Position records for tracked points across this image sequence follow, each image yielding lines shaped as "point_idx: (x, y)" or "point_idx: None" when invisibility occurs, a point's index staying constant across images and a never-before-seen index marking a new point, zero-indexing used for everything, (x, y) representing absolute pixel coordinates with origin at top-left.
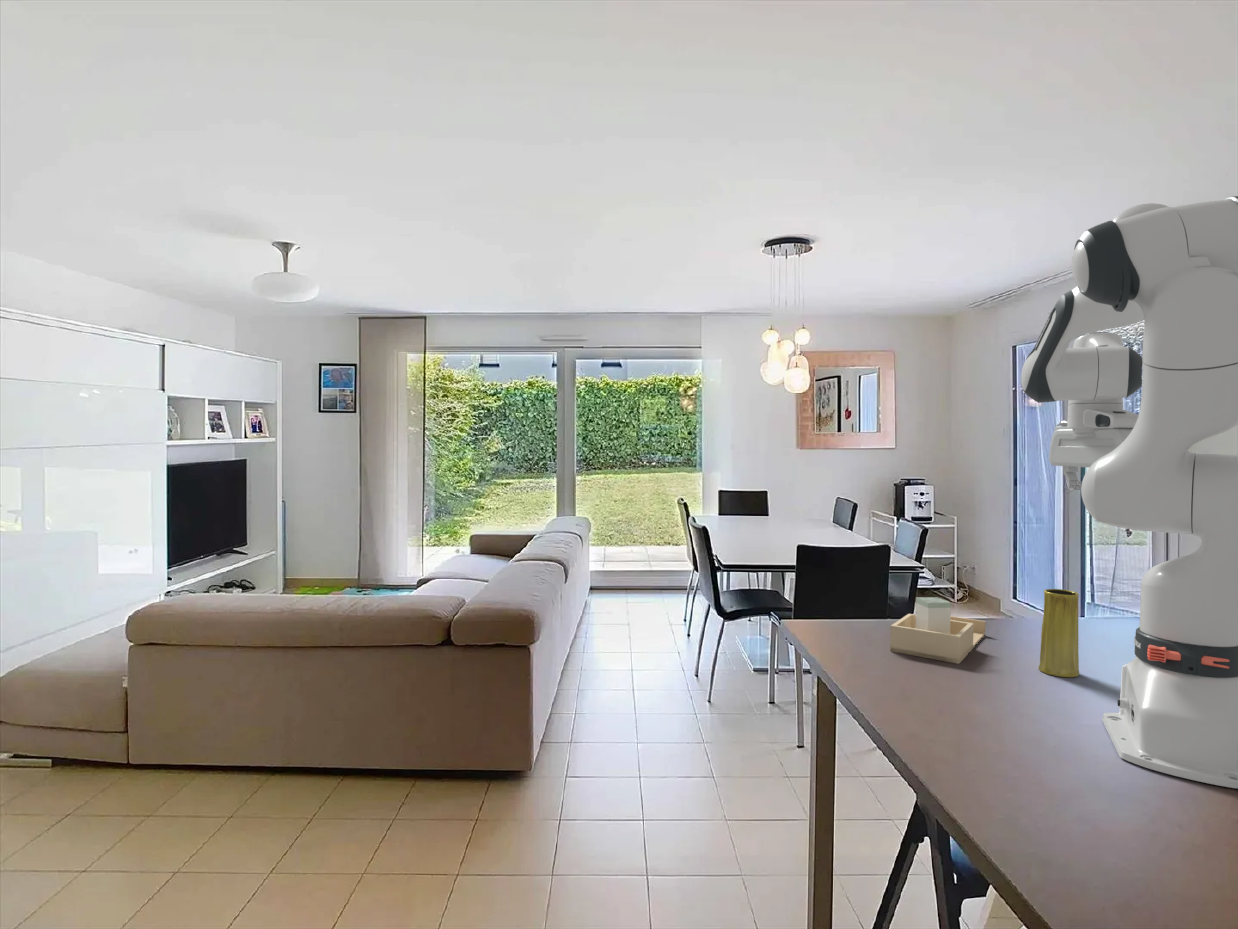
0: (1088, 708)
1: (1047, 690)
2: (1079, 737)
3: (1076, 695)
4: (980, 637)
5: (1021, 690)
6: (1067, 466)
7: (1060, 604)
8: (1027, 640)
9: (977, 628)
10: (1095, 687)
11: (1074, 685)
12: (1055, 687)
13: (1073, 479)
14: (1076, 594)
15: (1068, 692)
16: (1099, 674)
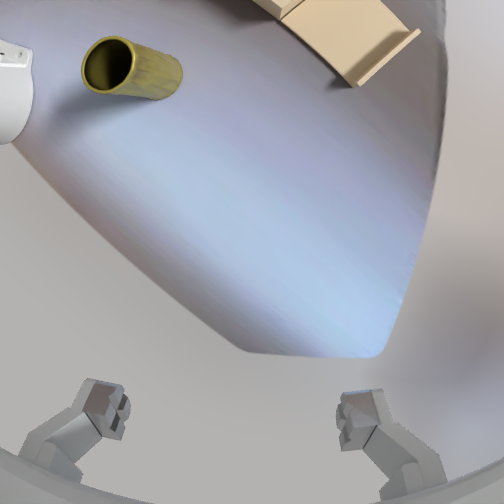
0: (55, 51)
1: (101, 31)
2: (15, 20)
3: None
4: (326, 59)
5: (104, 4)
6: (415, 493)
7: (97, 55)
8: (319, 136)
9: (360, 76)
10: None
11: None
12: None
13: (373, 443)
14: (84, 82)
15: None
16: (149, 127)
